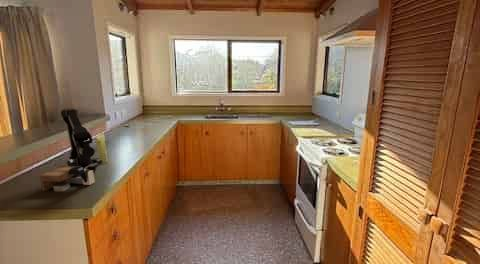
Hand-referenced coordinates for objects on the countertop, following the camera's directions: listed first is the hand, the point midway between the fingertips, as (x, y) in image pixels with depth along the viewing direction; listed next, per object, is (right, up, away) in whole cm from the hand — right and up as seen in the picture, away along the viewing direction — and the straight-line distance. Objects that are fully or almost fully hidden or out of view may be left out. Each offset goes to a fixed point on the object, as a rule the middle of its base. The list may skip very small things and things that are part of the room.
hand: (88, 180), depth 145 cm
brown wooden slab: (-13, -3, -1) cm, 14 cm away
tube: (-10, +6, +35) cm, 37 cm away
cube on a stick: (-6, -1, +1) cm, 6 cm away
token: (-11, -4, -5) cm, 13 cm away
